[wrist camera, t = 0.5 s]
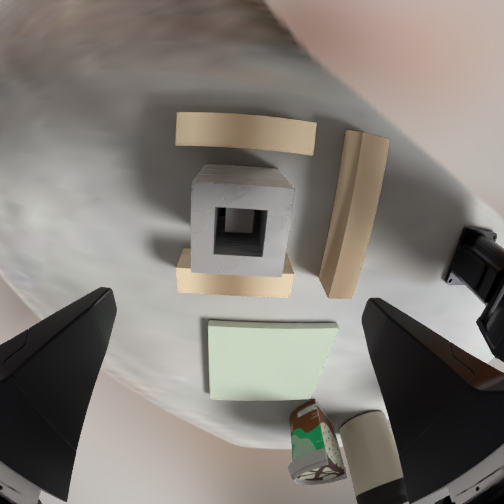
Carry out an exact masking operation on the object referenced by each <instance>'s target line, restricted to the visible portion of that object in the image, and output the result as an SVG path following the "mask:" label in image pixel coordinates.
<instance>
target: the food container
mask: <svg viewBox="0 0 504 504" xmlns="http://www.w3.org/2000/svg"><path fill="white" fill-rule="evenodd" d="M290 426H291V442H292V459H293V462H292V463H291V464H290V465H289V466H288V470H289V472H290V475H291V477H292V479H294V481H295V483H297V484H301V485H317V484H325V483H330V482H335V481H338V480H342V479H345V478H347V476H346V469H345V467H344V464H343V460H342V457H341V453H340V449H339V445H338V442H337V438H336V434H335V431H334V427H333V424H332V422H331V420H330V419H329V418H328V416H327V415H326V414H325V412H324V411H323V409H322V408H321V407H320V405H319V404H318V402H317V401H316V400H315V399H314V400H311V401H309V402H306V403H305V404H303V405H301V406H300V407H298V408H297V409H296V410H295V411H294V412H292V414H291V416H290Z"/></svg>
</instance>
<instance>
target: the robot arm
mask: <svg viewBox="0 0 504 504" xmlns="http://www.w3.org/2000/svg"><path fill="white" fill-rule="evenodd" d="M496 238H497V234H496V233H494V232H491V231H486V230H482V229H477V228H472V227H465V228H464V229H463V232H462V235H461V238H460V241H459V244H458V247H457V250H456V253H455V256H454V258H453V261H452V264H451V266H450V269H449V271H448V274H447V276H446V279H445V282H446V283H447V284H448V285H466V286H467V287H468V288H469V289H470V290H471V291H472V292H473V293H474V294H475V295H476V296H477V297H478V298H479V299H480V300H481V301H482V302H483V303H484V304H485V305H486V307H485V309H484V311H483V313H482V314H481V316H480V317H479V318H478V319H477V321H476V323H477V325H478V327H479V329H480V331H481V333H482V335H483V337H484V339H485V340H486V342H487V344H488V346H489V348H490V350H491V352H492V354H493V355H494V356H495V358H497V359H500V360H501V361H503V362H504V249H503V248H502V247H501V246H499V245H498V244H497V243H495V241H496ZM116 312H117V307H116V303H115V299H114V295H113V291H112V289H111V288H106V287H100V288H98V289H96V290H94V291H93V292H91V293H89V294H87V295H86V296H84V297H82V298H80V299H78V300H77V301H75V302H73V303H71V304H70V305H68V306H66V307H64V308H63V309H61V310H59V311H57V312H56V313H54V314H52V315H51V316H49V317H47V318H45V319H44V320H42V321H40V322H39V323H37V324H35V325H34V326H32V327H30V328H29V330H28V329H27V330H25V331H24V332H22V333H20V334H19V335H17V336H15V337H14V338H12V339H11V340H8V341H7V342H5V343H3V344H1V345H0V504H42V503H41V501H40V500H39V495H40V491H41V490H42V491H44V492H46V493H48V494H50V495H52V496H54V497H56V498H58V499H60V500H62V501H65V502H67V499H68V493H69V486H70V481H71V475H72V470H73V465H74V461H75V456H76V450H77V446H78V442H79V438H80V434H81V430H82V426H83V423H84V419H85V415H86V412H87V408H88V405H89V402H90V398H91V395H92V392H93V389H94V385H95V382H96V379H97V376H98V373H99V371H100V368H101V365H102V362H103V359H104V356H105V353H106V350H107V347H108V344H109V340H110V336H111V332H112V328H113V324H114V320H115V317H116ZM362 325H363V329H364V334H365V338H366V342H367V347H368V351H369V355H370V358H371V362H372V365H373V368H374V371H375V374H376V377H377V380H378V383H379V386H380V390H381V393H382V396H383V399H384V403H385V406H386V410H387V413H388V417H389V420H390V423H391V427H392V431H393V435H394V439H395V443H396V447H397V451H398V454H399V460H400V464H401V468H402V473H403V478H404V482H405V487H406V492H407V498H408V502H409V504H412V503H414V502H417V501H419V500H421V499H423V498H425V497H427V496H429V495H431V494H434V493H435V492H438V491H440V490H442V489H443V488H445V487H447V489H448V492H449V496H447V497H445V498H443V499H441V500H439V501H437V502H436V503H435V504H504V373H503V372H501V371H499V370H497V369H495V368H494V367H492V366H490V365H488V364H486V363H485V362H483V361H481V360H479V359H477V358H476V357H474V356H472V355H471V354H469V353H467V352H465V351H464V350H462V349H461V348H459V347H457V346H456V345H454V344H453V343H451V342H450V343H449V341H448V340H446V339H445V338H443V337H442V336H440V335H439V334H437V333H435V332H434V331H432V330H431V329H429V328H428V327H426V326H424V325H423V324H421V323H420V322H418V321H416V320H415V319H413V318H412V317H410V316H408V315H407V314H405V313H403V312H402V311H400V310H399V309H397V308H395V307H394V306H392V305H390V304H389V303H387V302H386V301H384V300H382V299H381V298H370V299H368V301H367V303H366V306H365V309H364V312H363V315H362Z"/></svg>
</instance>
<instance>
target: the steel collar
mask: <svg viewBox="0 0 504 504" xmlns="http://www.w3.org/2000/svg"><path fill="white" fill-rule="evenodd" d="M294 192H295V189H294V187H293V186H292V185H291V184H290V183H289V181H288V180H287V179H286V178H285V176H284V175H283V174H282V173H281V172H280V171H279V169H275V168H264V167H252V166H237V165H220V164H205V165H204V166H203V168H202V169H201V170H200V171H199V173H198V174H197V175H196V177H195V178H194V179H193V181H192V182H191V273H205V274H222V275H241V276H261V277H282V273H283V266H284V260H285V254H286V247H287V241H288V234H289V228H290V221H291V214H292V207H293V200H294ZM220 207H225V208H241V209H256V210H257V211H256V219H253V230H252V233H239V232H225V219H226V217H220Z"/></svg>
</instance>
